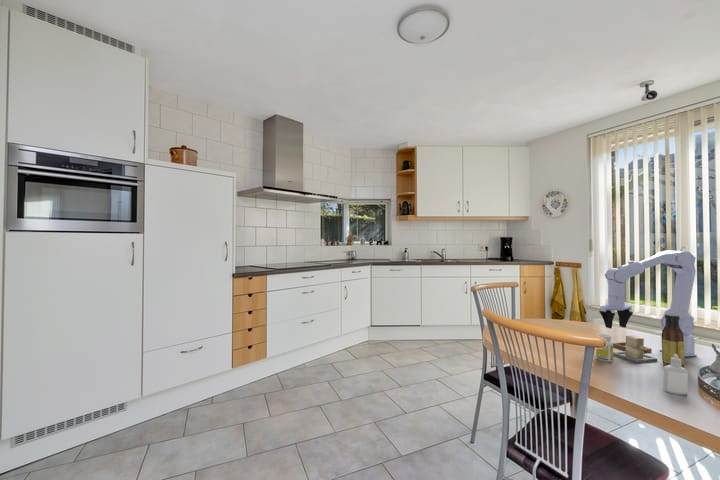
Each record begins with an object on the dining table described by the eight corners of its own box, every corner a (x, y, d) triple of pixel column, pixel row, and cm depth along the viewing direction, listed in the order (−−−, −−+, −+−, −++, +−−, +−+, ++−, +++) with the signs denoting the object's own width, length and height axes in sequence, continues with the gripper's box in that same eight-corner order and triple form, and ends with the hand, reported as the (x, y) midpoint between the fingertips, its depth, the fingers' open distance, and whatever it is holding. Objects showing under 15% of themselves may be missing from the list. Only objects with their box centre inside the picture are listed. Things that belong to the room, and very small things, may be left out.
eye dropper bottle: (687, 397, 99) (688, 358, 99) (662, 391, 103) (663, 353, 103) (687, 392, 102) (688, 355, 102) (663, 387, 106) (664, 350, 106)
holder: (628, 344, 148) (628, 341, 148) (651, 352, 139) (651, 348, 139) (611, 346, 146) (611, 342, 146) (633, 353, 137) (633, 350, 137)
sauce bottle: (679, 365, 125) (681, 314, 125) (688, 371, 119) (689, 317, 119) (658, 362, 128) (659, 312, 128) (664, 367, 122) (666, 315, 122)
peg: (633, 354, 134) (633, 335, 134) (643, 358, 130) (643, 338, 130) (625, 355, 133) (625, 335, 133) (635, 358, 129) (636, 338, 129)
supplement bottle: (607, 357, 132) (607, 333, 132) (616, 362, 127) (616, 337, 127) (592, 356, 133) (593, 333, 133) (601, 361, 127) (601, 337, 127)
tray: (633, 353, 137) (633, 350, 137) (657, 361, 129) (657, 358, 129) (612, 355, 135) (612, 352, 135) (635, 363, 126) (635, 360, 126)
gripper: (620, 294, 145) (619, 324, 145) (594, 294, 142) (593, 325, 142) (637, 296, 138) (636, 328, 138) (609, 297, 135) (608, 330, 135)
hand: (615, 327), depth 139 cm, fingers open, 7 cm apart
